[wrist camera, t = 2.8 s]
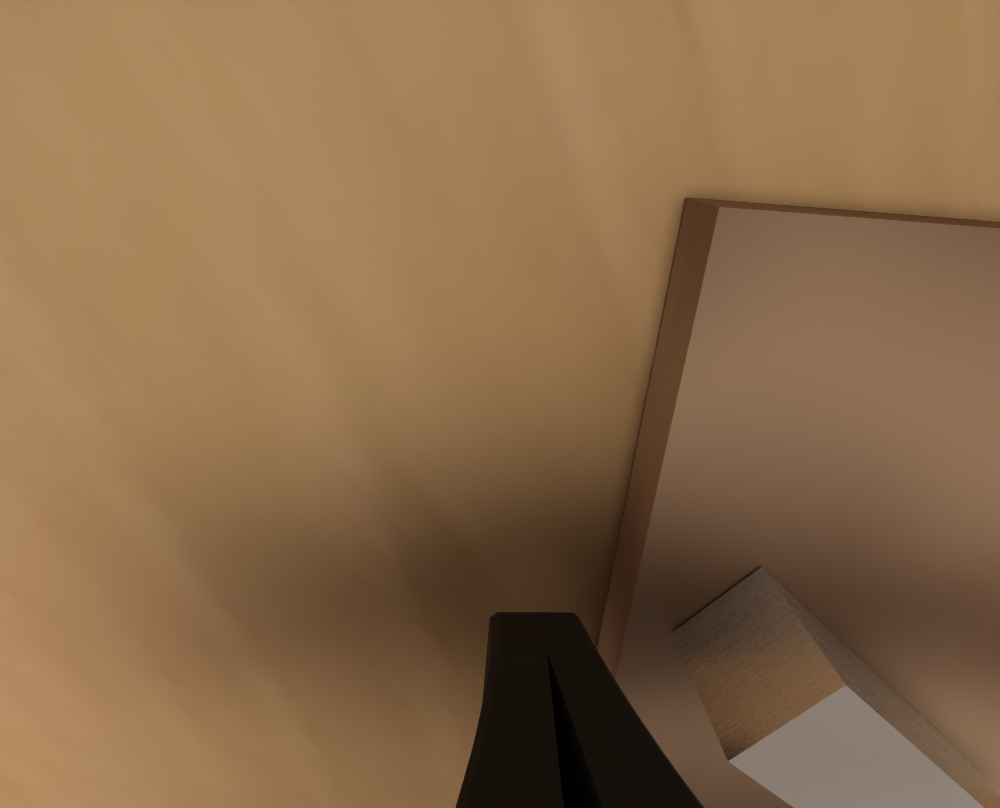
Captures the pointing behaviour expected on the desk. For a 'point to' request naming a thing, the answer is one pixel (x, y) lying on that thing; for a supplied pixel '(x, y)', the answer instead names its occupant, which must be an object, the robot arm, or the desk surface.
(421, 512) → the desk surface
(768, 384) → the walnut board
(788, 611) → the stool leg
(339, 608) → the desk surface
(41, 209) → the desk surface
